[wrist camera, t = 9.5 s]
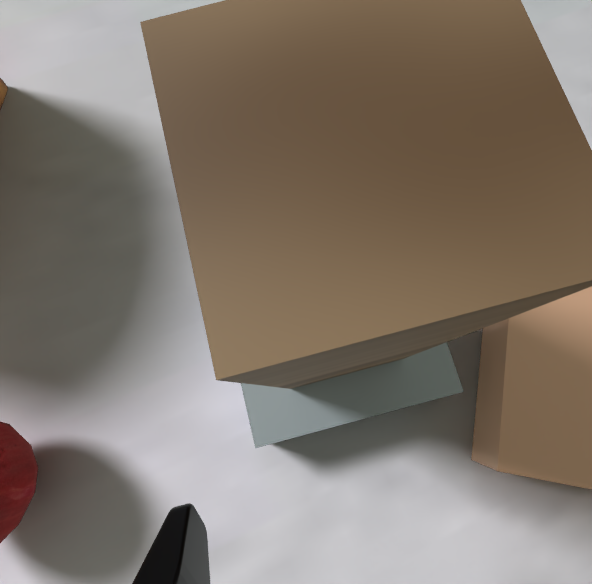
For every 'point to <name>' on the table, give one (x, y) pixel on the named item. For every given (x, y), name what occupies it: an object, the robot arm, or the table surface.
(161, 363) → the table surface
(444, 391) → the stone slab
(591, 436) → the terracotta slab
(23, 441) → the onion
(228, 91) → the walnut pillar
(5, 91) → the wooden box
